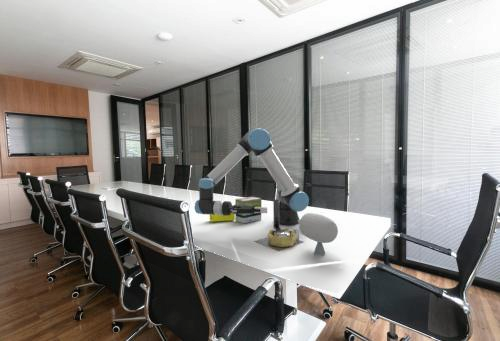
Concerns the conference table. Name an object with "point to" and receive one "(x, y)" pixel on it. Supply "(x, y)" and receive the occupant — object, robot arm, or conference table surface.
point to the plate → (265, 242)
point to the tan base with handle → (275, 239)
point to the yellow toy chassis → (222, 217)
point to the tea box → (250, 202)
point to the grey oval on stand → (318, 230)
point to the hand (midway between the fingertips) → (266, 210)
